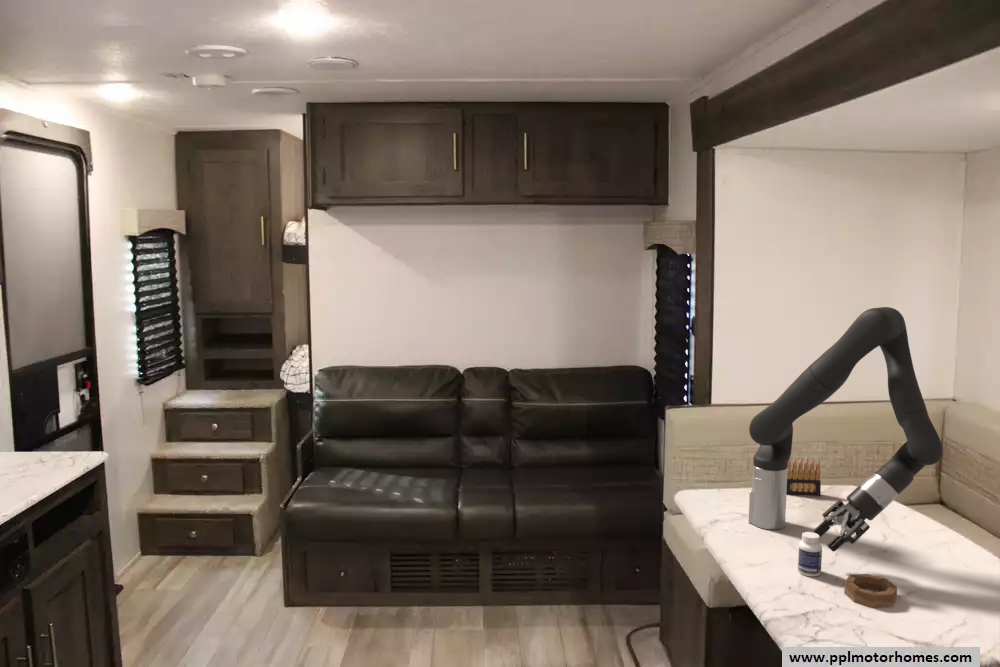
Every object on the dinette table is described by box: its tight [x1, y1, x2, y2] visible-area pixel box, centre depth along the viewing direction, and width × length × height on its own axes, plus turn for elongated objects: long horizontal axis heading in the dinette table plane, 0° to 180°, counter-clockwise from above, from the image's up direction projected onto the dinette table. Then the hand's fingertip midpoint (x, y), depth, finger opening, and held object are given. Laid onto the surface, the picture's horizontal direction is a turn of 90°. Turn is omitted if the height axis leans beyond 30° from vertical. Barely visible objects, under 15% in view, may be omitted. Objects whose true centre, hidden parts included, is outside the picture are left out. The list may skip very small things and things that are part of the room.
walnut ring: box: [843, 573, 898, 609], centre depth 178 cm, size 10×10×3 cm
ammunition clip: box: [786, 457, 822, 497], centre depth 243 cm, size 11×2×12 cm, turn 81°
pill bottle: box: [797, 531, 823, 577], centre depth 190 cm, size 5×5×10 cm
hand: (822, 541), depth 189 cm, fingers open, 8 cm apart
